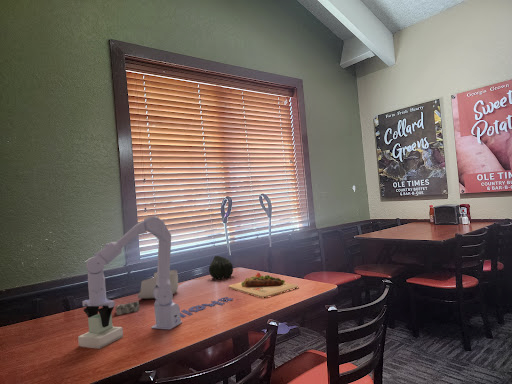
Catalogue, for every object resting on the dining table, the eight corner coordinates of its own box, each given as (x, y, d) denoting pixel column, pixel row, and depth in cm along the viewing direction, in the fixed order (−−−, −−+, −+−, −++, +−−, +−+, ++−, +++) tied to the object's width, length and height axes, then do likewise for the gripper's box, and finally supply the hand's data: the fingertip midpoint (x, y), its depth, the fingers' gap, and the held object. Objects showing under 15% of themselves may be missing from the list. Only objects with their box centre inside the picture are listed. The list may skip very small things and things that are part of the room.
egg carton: (115, 316, 155) (114, 307, 155) (116, 311, 162) (115, 303, 162) (139, 311, 159) (138, 302, 159) (139, 307, 166) (138, 299, 166)
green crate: (112, 327, 126) (111, 313, 127) (99, 334, 121) (98, 318, 121) (102, 326, 128) (101, 312, 129) (89, 333, 123) (88, 317, 123)
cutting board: (227, 288, 187) (225, 275, 187) (261, 279, 200) (259, 267, 201) (263, 300, 158) (262, 284, 158) (300, 288, 172) (299, 274, 172)
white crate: (123, 336, 127) (122, 327, 127) (99, 348, 117) (99, 338, 117) (102, 334, 131) (102, 325, 131) (78, 346, 122) (78, 336, 122)
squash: (238, 269, 209) (228, 250, 218) (216, 274, 201) (207, 254, 210) (232, 281, 218) (223, 262, 227) (211, 287, 210) (203, 267, 219)
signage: (225, 296, 168) (237, 299, 160) (226, 297, 168) (237, 301, 160) (173, 312, 150) (182, 316, 142) (173, 313, 150) (183, 318, 142)
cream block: (173, 299, 174) (171, 276, 175) (137, 302, 175) (135, 279, 175) (182, 289, 194) (181, 268, 195) (150, 292, 195) (148, 271, 195)
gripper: (74, 291, 124) (77, 328, 124) (102, 292, 118) (105, 331, 118) (90, 286, 131) (93, 321, 130) (118, 287, 125) (121, 323, 124)
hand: (100, 325), depth 125 cm, fingers closed on green crate, 5 cm apart
